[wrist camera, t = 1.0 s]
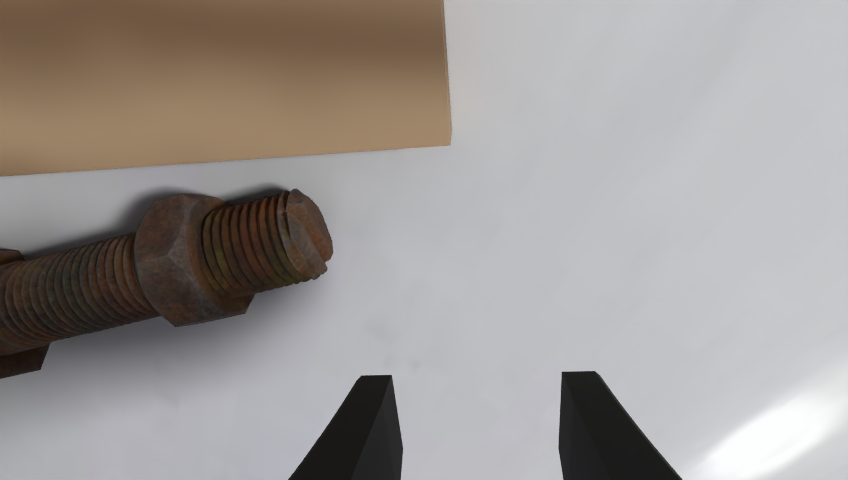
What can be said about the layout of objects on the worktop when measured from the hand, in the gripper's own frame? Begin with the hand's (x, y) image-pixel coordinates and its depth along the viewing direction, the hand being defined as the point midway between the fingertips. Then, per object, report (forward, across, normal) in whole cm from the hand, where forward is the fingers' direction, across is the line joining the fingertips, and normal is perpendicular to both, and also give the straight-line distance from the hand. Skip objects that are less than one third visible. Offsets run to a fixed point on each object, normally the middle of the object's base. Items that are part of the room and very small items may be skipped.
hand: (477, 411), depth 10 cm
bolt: (+10, +13, +1) cm, 16 cm away
